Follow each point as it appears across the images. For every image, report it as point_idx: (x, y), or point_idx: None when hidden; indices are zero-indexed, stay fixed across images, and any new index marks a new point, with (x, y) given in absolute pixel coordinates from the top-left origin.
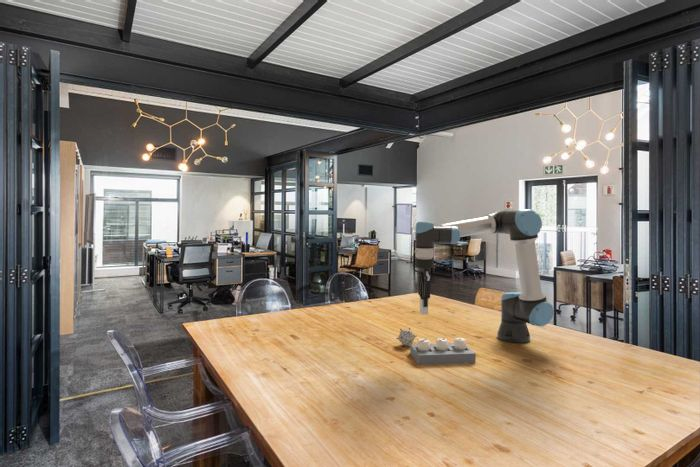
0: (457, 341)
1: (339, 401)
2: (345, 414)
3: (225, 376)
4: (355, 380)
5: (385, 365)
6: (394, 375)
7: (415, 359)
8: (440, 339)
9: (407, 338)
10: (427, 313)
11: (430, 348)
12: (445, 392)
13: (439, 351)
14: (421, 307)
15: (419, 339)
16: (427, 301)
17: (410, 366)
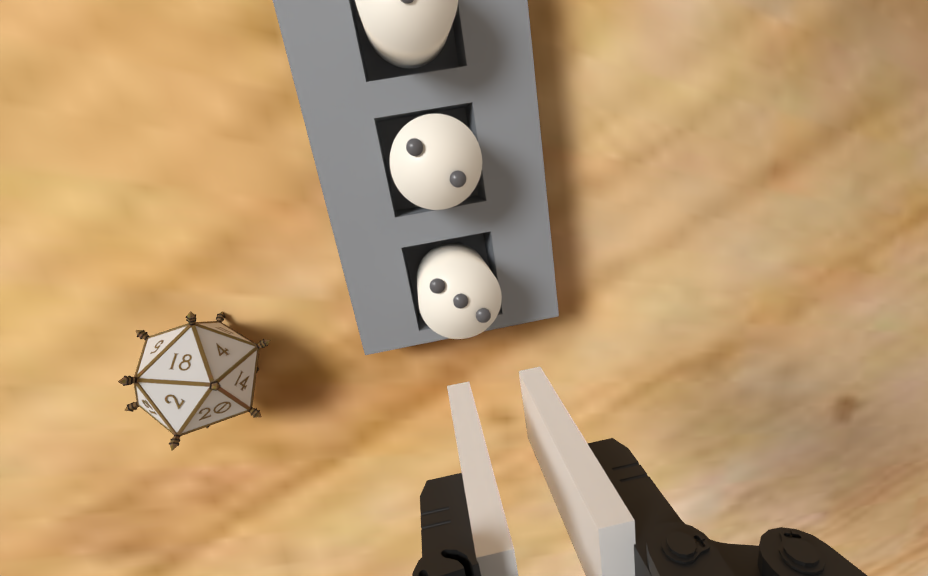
0: (448, 30)
1: (832, 538)
2: (907, 512)
3: None
4: (692, 522)
5: None
6: (659, 402)
7: None
8: (422, 172)
9: (248, 371)
10: (543, 378)
11: (432, 237)
12: (844, 214)
13: (488, 186)
14: (555, 495)
15: (437, 326)
16: (666, 502)
17: (560, 337)
